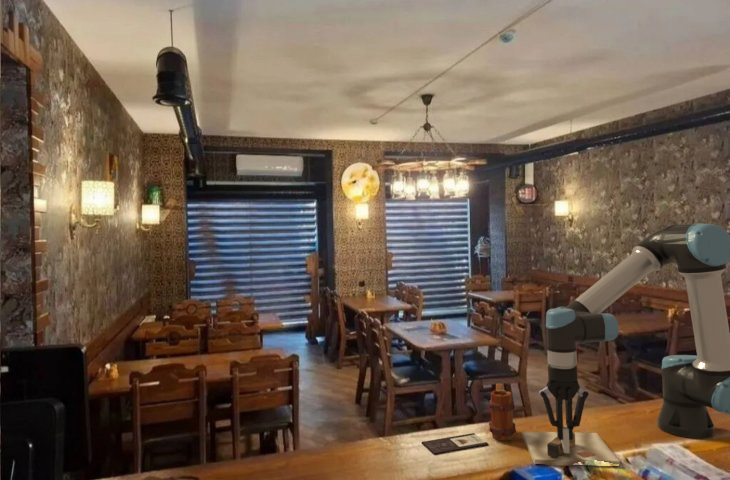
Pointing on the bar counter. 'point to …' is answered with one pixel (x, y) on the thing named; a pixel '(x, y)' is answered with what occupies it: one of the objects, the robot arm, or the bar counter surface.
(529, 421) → the bar counter surface
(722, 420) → the bar counter surface
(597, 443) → the dial board
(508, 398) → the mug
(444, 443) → the chocolate bar
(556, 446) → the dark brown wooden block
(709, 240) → the robot arm
